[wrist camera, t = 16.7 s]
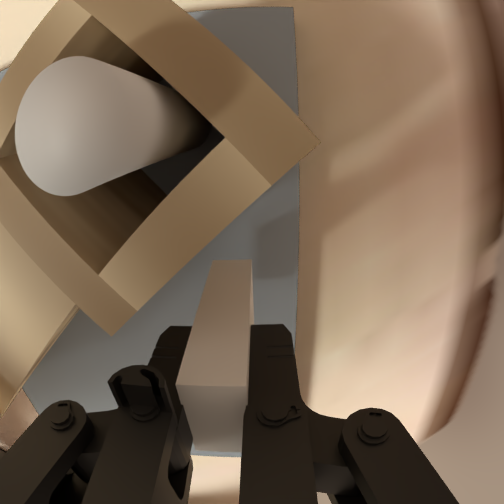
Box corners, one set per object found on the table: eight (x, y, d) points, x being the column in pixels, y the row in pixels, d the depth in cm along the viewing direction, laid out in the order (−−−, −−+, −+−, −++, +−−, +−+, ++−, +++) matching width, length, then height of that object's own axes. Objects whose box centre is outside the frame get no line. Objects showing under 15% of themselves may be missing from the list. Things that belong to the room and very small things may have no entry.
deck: (52, 415, 22) (8, 502, 12) (-41, 104, 12) (-163, 129, 2) (285, 441, 21) (292, 564, 11) (289, 18, 11) (348, -150, 1)
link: (176, 30, 10) (103, -46, 4) (286, 135, 12) (321, 142, 5) (-4, 293, 15) (-70, 354, 9) (63, 360, 17) (14, 439, 10)
